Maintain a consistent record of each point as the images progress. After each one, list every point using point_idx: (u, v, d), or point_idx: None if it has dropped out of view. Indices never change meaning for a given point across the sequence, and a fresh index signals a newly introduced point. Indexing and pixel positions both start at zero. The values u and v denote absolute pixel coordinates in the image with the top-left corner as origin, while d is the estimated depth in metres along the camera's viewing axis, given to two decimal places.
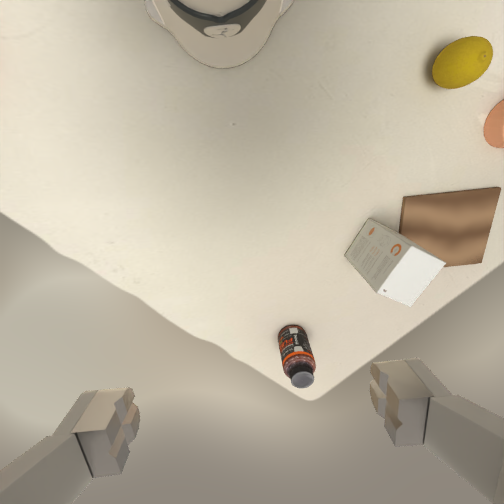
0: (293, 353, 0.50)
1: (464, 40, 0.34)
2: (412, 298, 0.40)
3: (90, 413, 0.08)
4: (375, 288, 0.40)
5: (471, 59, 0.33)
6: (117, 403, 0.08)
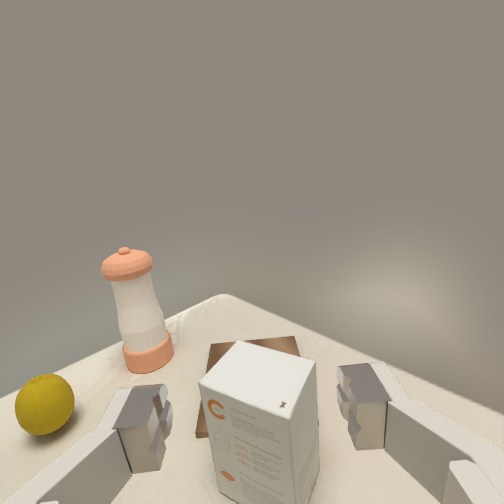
0: None
1: (15, 402, 0.32)
2: (297, 361, 0.24)
3: (129, 409, 0.08)
4: (284, 425, 0.19)
5: (30, 389, 0.31)
6: (154, 399, 0.08)
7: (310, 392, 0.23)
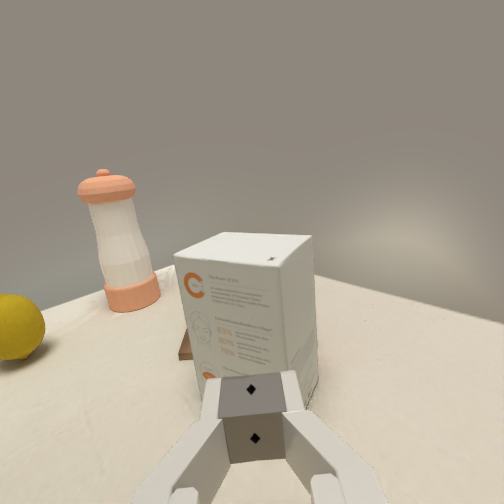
0: None
1: None
2: (291, 236, 0.20)
3: (227, 399, 0.08)
4: (273, 277, 0.15)
5: None
6: (248, 390, 0.08)
7: (306, 266, 0.19)
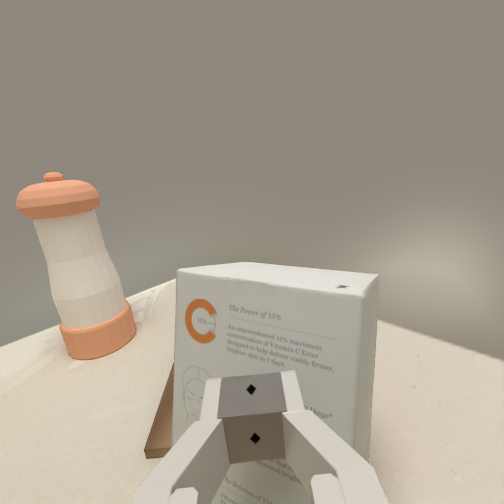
0: None
1: None
2: (348, 272, 0.14)
3: (227, 399, 0.08)
4: (350, 315, 0.09)
5: None
6: (248, 390, 0.08)
7: (375, 316, 0.12)
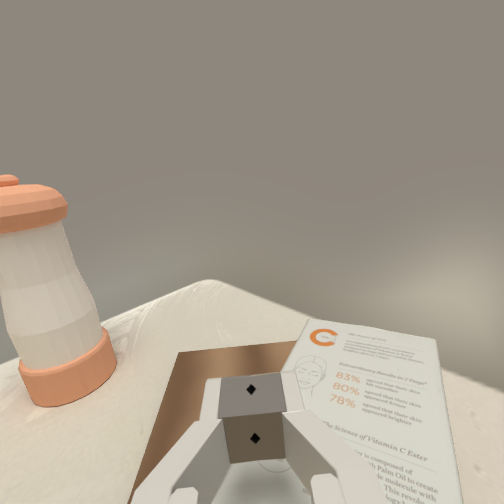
0: None
1: None
2: None
3: (227, 399, 0.08)
4: (429, 344, 0.17)
5: None
6: (248, 390, 0.08)
7: None
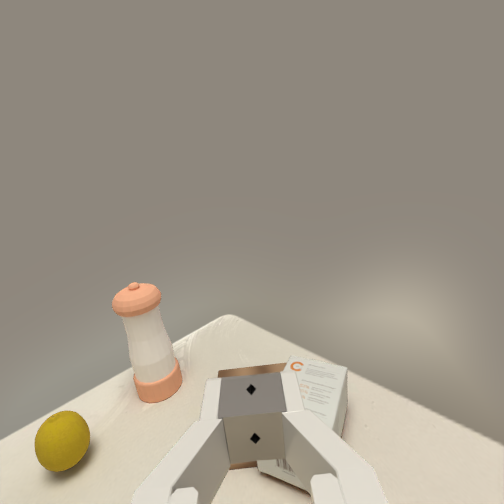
0: None
1: (35, 441, 0.33)
2: None
3: (227, 399, 0.08)
4: (343, 370, 0.37)
5: (49, 428, 0.33)
6: (248, 390, 0.08)
7: (346, 401, 0.37)
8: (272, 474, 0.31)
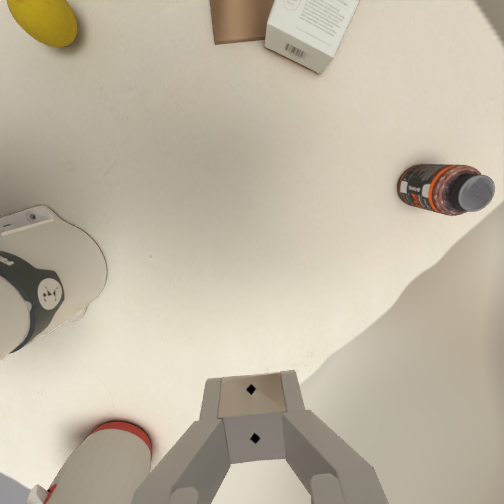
0: (430, 200, 0.34)
1: (17, 22, 0.29)
2: None
3: (227, 399, 0.08)
4: None
5: (26, 11, 0.28)
6: (248, 390, 0.08)
7: None
8: (277, 52, 0.34)
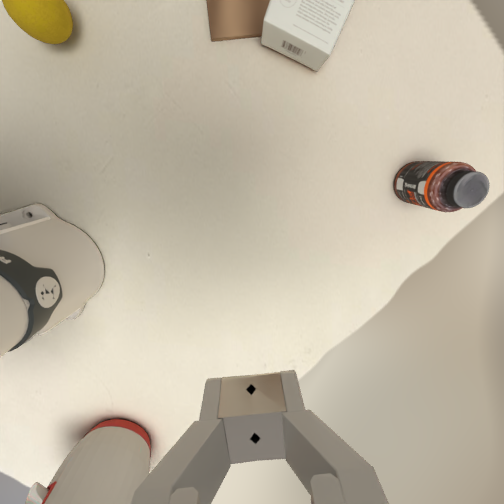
0: (426, 197, 0.34)
1: None
2: None
3: (227, 399, 0.08)
4: None
5: (21, 7, 0.28)
6: (248, 390, 0.08)
7: None
8: (274, 49, 0.34)
